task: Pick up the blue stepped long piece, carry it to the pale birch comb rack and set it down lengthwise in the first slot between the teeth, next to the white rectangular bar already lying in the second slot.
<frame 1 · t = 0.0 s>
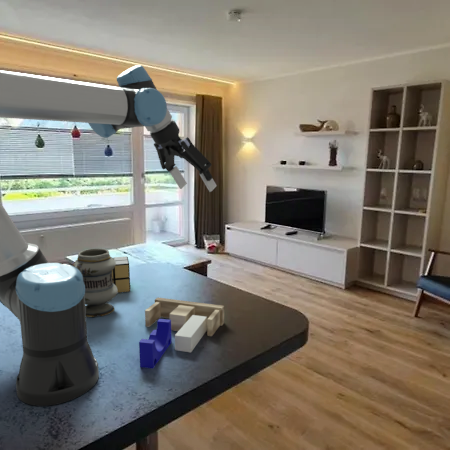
hand: (197, 187, 112), 36 cm above the kitchen counter, tool tilted 35°, fingers open, 13 cm apart
apothecary jar: (97, 311, 111), on the kitchen counter
comb rack: (188, 319, 105), on the kitchen counter
white rectangular bar: (191, 340, 94), on the kitchen counter
blue stepped long piece: (153, 354, 87), on the kitchen counter
puzzle cube: (114, 289, 130), on the kitchen counter
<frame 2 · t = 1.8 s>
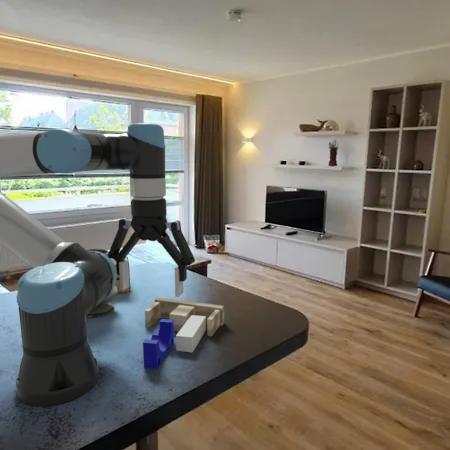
hand: (151, 291, 85), 15 cm above the kitchen counter, tool pointing down, fingers open, 13 cm apart
nothing on the kitchen counter moved.
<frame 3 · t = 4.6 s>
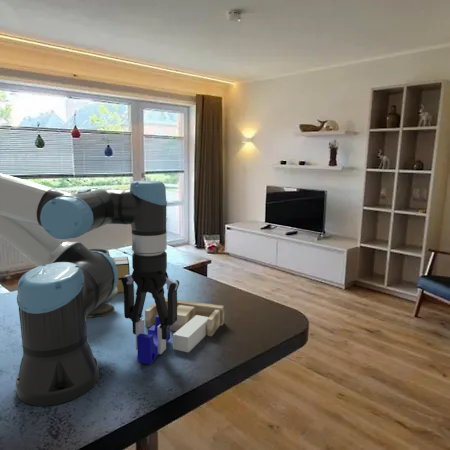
hand: (151, 348, 87), 1 cm above the kitchen counter, tool pointing down, fingers closed on blue stepped long piece, 5 cm apart
blue stepped long piece: (152, 349, 88), point 1 cm above the kitchen counter, touching gripper
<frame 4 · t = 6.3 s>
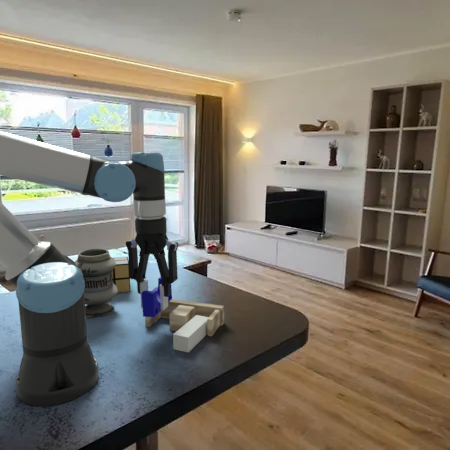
hand: (154, 306, 96), 7 cm above the kitchen counter, tool pointing down, fingers closed on blue stepped long piece, 5 cm apart
blue stepped long piece: (155, 307, 96), point 7 cm above the kitchen counter, touching gripper
everything else where it was.
when the fingers open (1 cm above the kitchen counter, at t = 7.6 s): blue stepped long piece stays where it is, on the kitchen counter.
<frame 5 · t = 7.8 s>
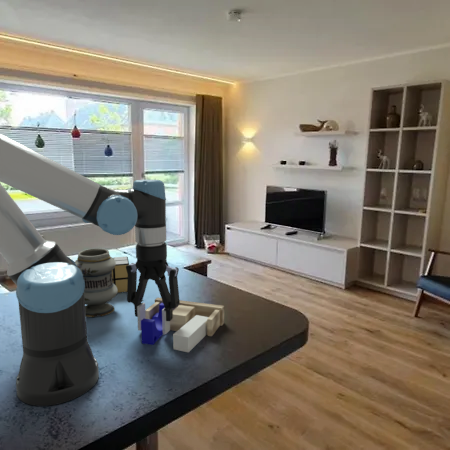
hand: (154, 330, 97), 1 cm above the kitchen counter, tool pointing down, fingers open, 6 cm apart
blue stepped long piece: (155, 334, 97), on the kitchen counter
everything else where it was.
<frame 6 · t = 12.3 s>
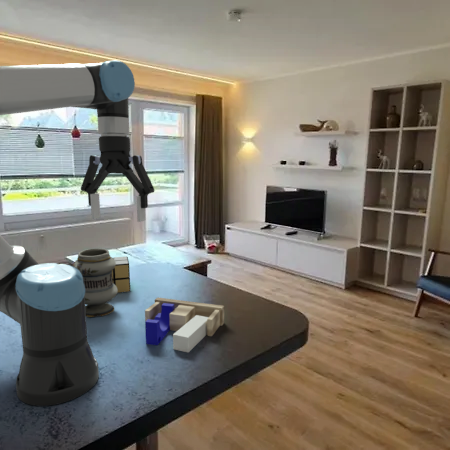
hand: (118, 219, 98), 29 cm above the kitchen counter, tool pointing down, fingers open, 13 cm apart
at the end: blue stepped long piece 1.1 cm from the target spot, on the kitchen counter; blue stepped long piece tilted 0°; white rectangular bar moved 0.4 cm from its start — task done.
